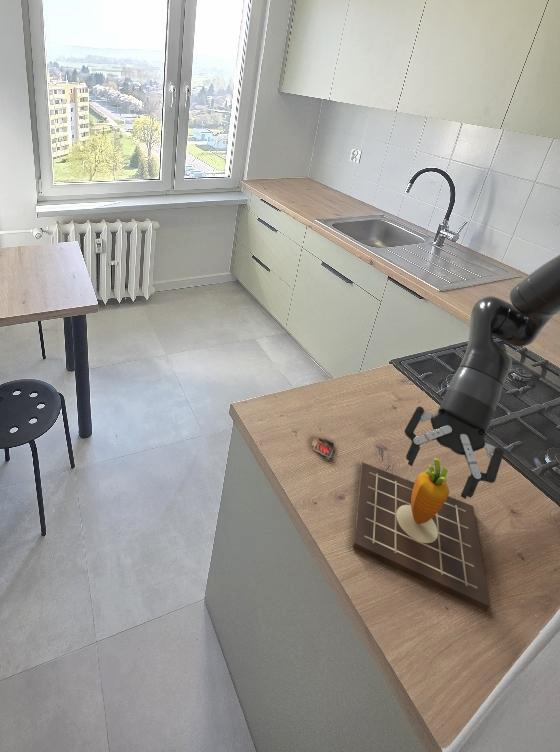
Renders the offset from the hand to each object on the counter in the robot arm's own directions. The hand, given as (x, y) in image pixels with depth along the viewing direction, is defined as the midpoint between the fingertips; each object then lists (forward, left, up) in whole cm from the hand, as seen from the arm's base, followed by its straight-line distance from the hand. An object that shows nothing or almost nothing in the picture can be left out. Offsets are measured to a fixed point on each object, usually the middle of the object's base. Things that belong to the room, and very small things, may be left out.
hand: (435, 480), depth 74 cm
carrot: (+1, +2, -10) cm, 10 cm away
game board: (+1, +2, -11) cm, 11 cm away
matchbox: (+19, -8, -11) cm, 23 cm away
